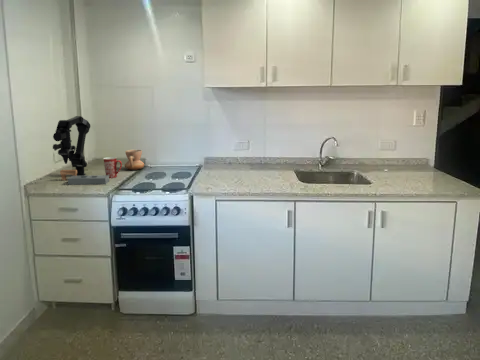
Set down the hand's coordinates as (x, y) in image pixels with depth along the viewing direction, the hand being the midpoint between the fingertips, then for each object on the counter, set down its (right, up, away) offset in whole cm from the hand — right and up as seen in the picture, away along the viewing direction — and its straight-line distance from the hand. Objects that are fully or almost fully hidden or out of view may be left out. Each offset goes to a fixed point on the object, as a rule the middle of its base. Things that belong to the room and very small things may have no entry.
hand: (68, 162), depth 299 cm
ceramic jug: (+35, -4, +37) cm, 52 cm away
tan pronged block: (0, -12, +3) cm, 12 cm away
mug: (+27, -10, +11) cm, 31 cm away
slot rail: (+16, -14, -6) cm, 22 cm away
